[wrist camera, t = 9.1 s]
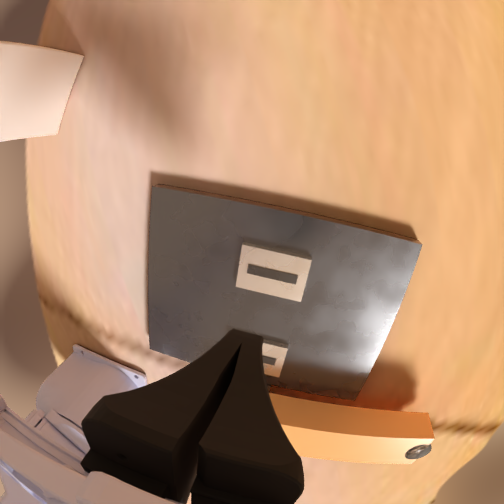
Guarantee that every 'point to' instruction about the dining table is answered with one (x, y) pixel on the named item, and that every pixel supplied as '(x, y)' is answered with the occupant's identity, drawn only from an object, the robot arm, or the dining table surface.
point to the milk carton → (34, 89)
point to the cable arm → (353, 431)
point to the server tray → (274, 286)
